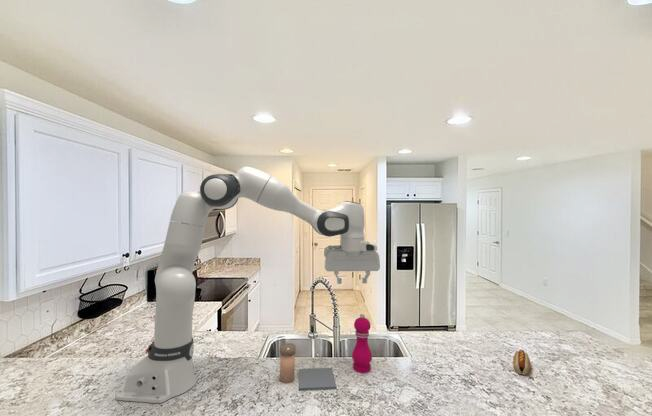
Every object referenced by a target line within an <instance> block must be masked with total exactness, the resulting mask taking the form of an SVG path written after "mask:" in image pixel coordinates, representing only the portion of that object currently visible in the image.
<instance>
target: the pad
mask: <svg viewBox="0 0 652 416" xmlns="http://www.w3.org/2000/svg"><path fill="white" fill-rule="evenodd" d="M336 389H337V384H336V378H335V374H334V370H333V367H316V368H315V367H314V368H311V367H310V368H298V391H300V392H302V391H321V390H324V391H326V390H336Z"/></svg>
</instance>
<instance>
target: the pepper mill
mask: <svg viewBox="0 0 652 416" xmlns="http://www.w3.org/2000/svg"><path fill="white" fill-rule="evenodd" d="M370 322H371V321H370V320H369V319H368V318H367V317H366V316H365V314H364V313H360V315H359V317H357V318H356V319H355V320H354V324H353V327H354V329H355V331H354V332H355V337H356V342H355V343H356V344H355V347H354V348H353V350H352V355H351V358H352V361H353V367H352V368H353V370H354V371H355V372H357V373H360V374H365V373H366V374H367V373H369V372H370V371H371V361H372V360H373V355H372V351H371V349H370V347H369V343H368V342H369V341H368V339H369V337H370V331H369V330H370V329H371V323H370Z"/></svg>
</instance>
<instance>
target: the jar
mask: <svg viewBox="0 0 652 416" xmlns="http://www.w3.org/2000/svg"><path fill="white" fill-rule="evenodd" d="M296 347H297V346H296V344H294V343H290V342H286V343H282V344H280V345H279V356H280V357H279V382H281V383H282V384H291V383H293V382H294V381H295V372H296V371H295V370H296V369H295V368H296V365H295V364H296V353H297V351H296Z"/></svg>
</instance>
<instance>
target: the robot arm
mask: <svg viewBox="0 0 652 416" xmlns="http://www.w3.org/2000/svg"><path fill="white" fill-rule="evenodd" d="M199 186H200V187H199V191H195V190H188V191H184V192H182V193H180V194H179V195H178V197H177V198H176V199H177V200H176V201H175V204H174V206H173V209H172V212H171V215H170V219H169V223H168V227H167V230H166V231H167V232H166V236H165V240H164V244H163V249H162V251H161V255H160V258H159V261H158V265H157V269H156V272H155V277H154V284H155V293H156V294H155V311H154V314H155V315H154V329H153V330H154V337H153V340H152V341H151V344H149V345H148V347H147V348H146V349H145V354H147V355H146V356H145V357H143V359H140V361H138V362H137V363H136V364H135V365H133V367H132V368H131V369H130V370H129V372H128V374H127V376H126V377H125V379H126V380H125V382H123V383H122V385H120V386H119V388H118V389H117V391H116V393H115V400H116V401H127V402H137V403H139V402H140V403H151V404H152V403H154V404H162V403H164V402H167V401H169V400H171V398H174V397H177V396H179V395H182V394H184V393H186V392H189V390H190V389H192V388H193V387H194V386H195V385H196V384H197V377H196V374H195V373H196V372H195V368H194V361H193V360H194V359H193V356H194V352H195V350H194V337H193V312H194V307H195V300H196V287H197V282H196V278H195V275H194V274H193V271H194V267H195V265H196V261H197V258H198V256H199V253H200V251H201V247H202V245H203V243H202V242H203V240H204V235H205V229H206V225H207V220H208V217H209V214H210V213H211V212H214V211H215V212H216V211H224V210H228V209H231V208H233V207H235V205H236V204H237V202H238V201H239V198H245V199H248V200H251V201H252V202H254V203H257V204H258V205H261V206H262V207H265V208H267V209H270V210H274V211H278V212H285V213H288V214H291V215H292V216H295V217H297V218H298V219H301V220H302V221H304V222H306V223H308V224H309V225H310V226H311V227H312V228H313V230H314V231H315V232H316V233H317V234H319V235H322V236H324V237H328V238H330V237H335V236H340V241H339V242H340V244H339V245H328V246H326V247H325V248H324V251H323V255H324V258H325V260H324V270H325V271H326V272H333V274H334V276H335V278H336V284H338V285H340V284H342V277H339V276H338V275H339V274H340V273H339V272H364V273H365V274H364V277H361V279H362V280H361V282H362V284H368V279H369V277H370V275H371V272H378V271H380V269H381V265H380V264H381V262H380V260H381V259H380V255H379V253H378V252H377V250H378V246H377V245H376V244H374V243H371V242H369V241H366V240H365V233H364V229H365V223H366V222H365V211H364V207H363V205H362V204H361V203H359V202H356V201H349V200H344V201H342V203H339V204H338V205H337V206H333V207H332V208H329V209H319V208H315V207H314V206H312V205H311V204H308V203H307V202H305V201H303V200H301V199H300V198H298V197H297V196H296V195H295V194H294V193H293V192H292V190H291V189H290V187H289V186H288V185H287V184H286V183H284V182H283V181H281V180H280V179H278V178H277V177H275V176H274V175H272V174H271V173H270V174H269V173H267V172H265V171H263V170H260V169H258V168H256V167H252V166H242V167H241V168H239V169H238V170H237V171H236V173H235V175H234V174H233V173H232V174H231V173H227V174H226V173H216V174H215V173H214V174H210V175H208V176H206V177H205V178H204V179H203V180H202V181H201V184H200V185H199Z"/></svg>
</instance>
